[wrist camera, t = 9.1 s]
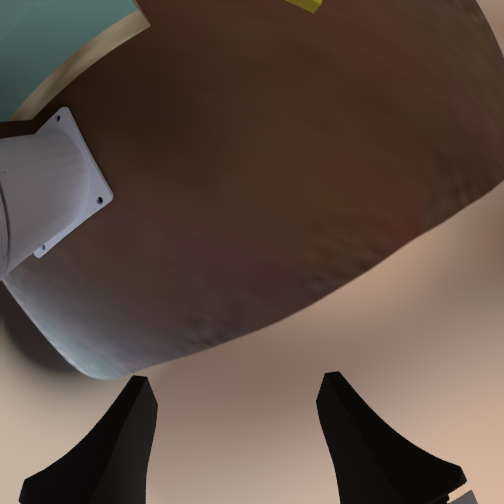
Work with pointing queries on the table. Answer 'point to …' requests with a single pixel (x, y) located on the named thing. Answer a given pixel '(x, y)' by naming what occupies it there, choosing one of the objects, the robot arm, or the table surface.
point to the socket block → (81, 62)
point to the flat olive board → (307, 4)
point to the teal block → (46, 40)
